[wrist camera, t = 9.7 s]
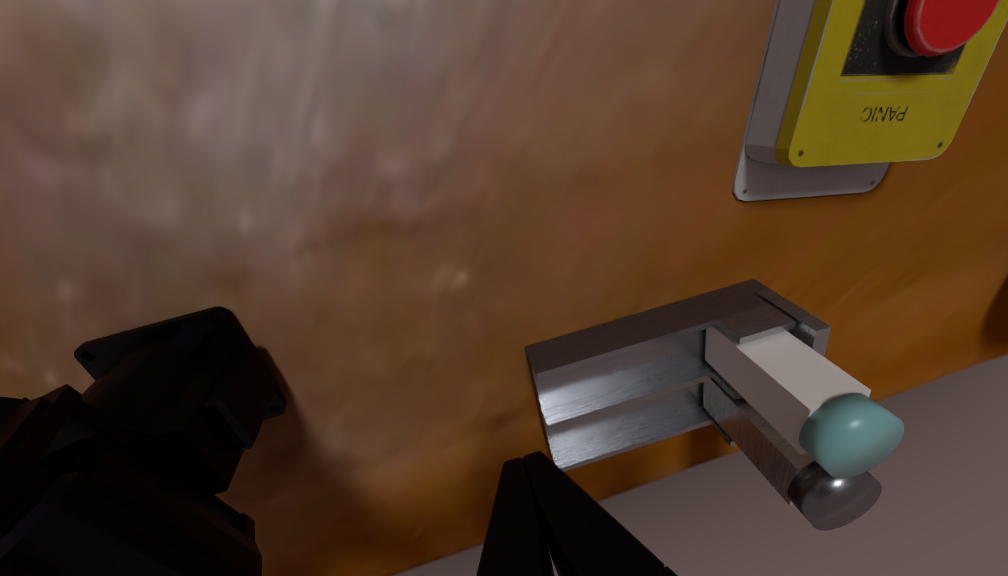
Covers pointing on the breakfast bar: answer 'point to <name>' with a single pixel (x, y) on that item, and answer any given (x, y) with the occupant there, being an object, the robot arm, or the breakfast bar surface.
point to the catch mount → (684, 393)
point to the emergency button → (860, 91)
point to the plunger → (807, 400)
